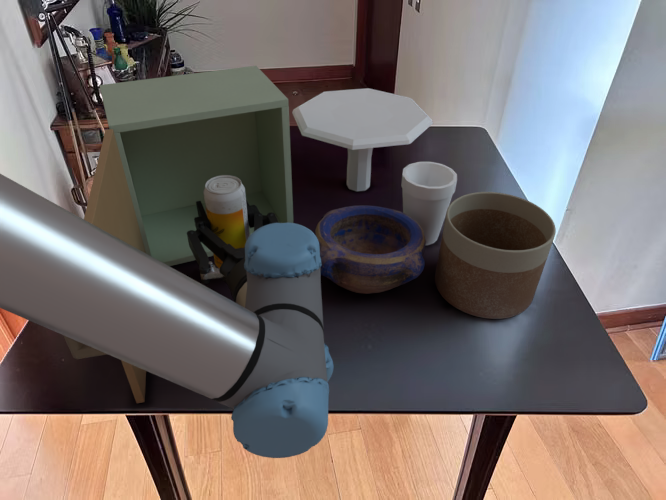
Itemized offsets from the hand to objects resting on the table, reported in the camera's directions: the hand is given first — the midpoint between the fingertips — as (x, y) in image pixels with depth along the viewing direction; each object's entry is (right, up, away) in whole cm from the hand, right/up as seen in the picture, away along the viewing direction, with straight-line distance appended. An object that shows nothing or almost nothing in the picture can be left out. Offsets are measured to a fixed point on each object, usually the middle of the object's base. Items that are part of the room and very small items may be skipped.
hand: (220, 204), depth 83 cm
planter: (+43, -14, +2) cm, 45 cm away
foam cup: (+35, -5, +14) cm, 38 cm away
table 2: (+24, +6, +28) cm, 37 cm away
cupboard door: (-13, -20, -7) cm, 24 cm away
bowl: (+24, -12, +4) cm, 27 cm away
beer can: (+2, -10, +2) cm, 10 cm away
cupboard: (-4, -3, +14) cm, 15 cm away
